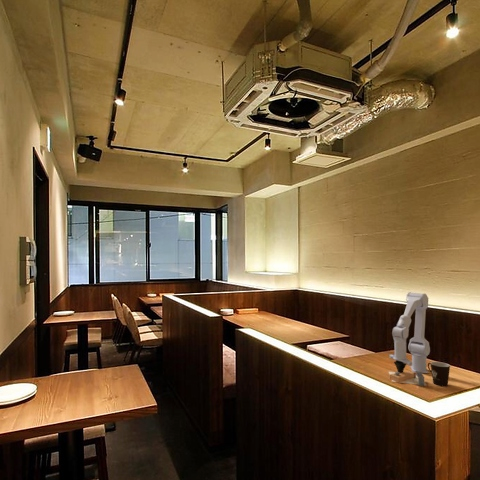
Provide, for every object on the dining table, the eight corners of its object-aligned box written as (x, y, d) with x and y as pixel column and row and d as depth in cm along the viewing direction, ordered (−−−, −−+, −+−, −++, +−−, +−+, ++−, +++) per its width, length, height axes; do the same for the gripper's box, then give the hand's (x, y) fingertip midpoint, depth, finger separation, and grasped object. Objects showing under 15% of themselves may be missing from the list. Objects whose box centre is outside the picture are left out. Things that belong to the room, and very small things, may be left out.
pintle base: (388, 371, 191) (388, 364, 191) (420, 375, 186) (420, 367, 186) (391, 381, 176) (391, 373, 176) (426, 385, 171) (426, 377, 171)
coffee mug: (453, 388, 168) (452, 367, 168) (434, 386, 169) (433, 366, 170) (444, 379, 179) (443, 360, 180) (426, 378, 181) (426, 359, 181)
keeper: (415, 379, 179) (415, 371, 179) (420, 380, 178) (420, 371, 178) (419, 385, 170) (418, 376, 171) (424, 386, 170) (424, 377, 170)
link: (398, 382, 174) (398, 377, 174) (389, 378, 179) (389, 374, 179) (417, 377, 181) (417, 373, 181) (408, 374, 185) (408, 370, 186)
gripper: (384, 346, 189) (385, 371, 188) (404, 353, 175) (404, 380, 174) (395, 345, 191) (395, 370, 190) (415, 352, 177) (415, 379, 176)
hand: (400, 375), depth 182 cm, fingers closed, pressing on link
